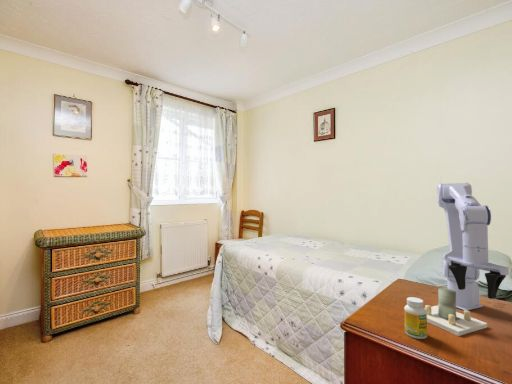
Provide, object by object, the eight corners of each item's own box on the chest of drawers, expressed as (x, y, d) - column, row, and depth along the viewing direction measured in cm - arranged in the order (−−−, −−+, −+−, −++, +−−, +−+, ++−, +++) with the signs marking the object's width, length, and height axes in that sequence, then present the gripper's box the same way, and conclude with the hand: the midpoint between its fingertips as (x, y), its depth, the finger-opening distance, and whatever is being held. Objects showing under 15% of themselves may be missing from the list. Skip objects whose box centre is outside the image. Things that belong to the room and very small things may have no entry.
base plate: (438, 308, 89) (438, 297, 89) (487, 327, 76) (487, 314, 76) (411, 314, 84) (411, 303, 84) (458, 336, 71) (458, 322, 71)
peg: (444, 312, 83) (444, 287, 83) (459, 318, 79) (459, 292, 79) (435, 314, 81) (434, 289, 81) (450, 321, 77) (449, 294, 77)
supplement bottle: (410, 327, 76) (410, 294, 76) (430, 335, 72) (430, 300, 72) (400, 333, 73) (400, 298, 73) (421, 341, 69) (420, 305, 69)
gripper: (440, 243, 82) (441, 287, 81) (497, 252, 68) (498, 304, 68) (455, 242, 84) (456, 284, 84) (512, 250, 71) (514, 300, 70)
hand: (476, 293), depth 76 cm, fingers open, 7 cm apart
